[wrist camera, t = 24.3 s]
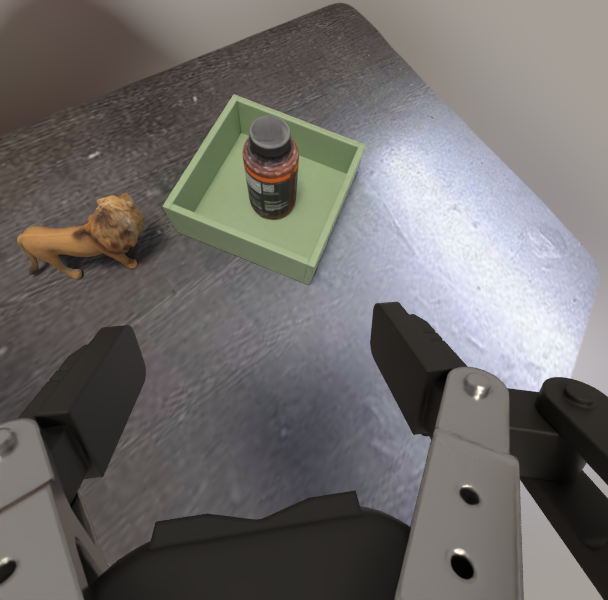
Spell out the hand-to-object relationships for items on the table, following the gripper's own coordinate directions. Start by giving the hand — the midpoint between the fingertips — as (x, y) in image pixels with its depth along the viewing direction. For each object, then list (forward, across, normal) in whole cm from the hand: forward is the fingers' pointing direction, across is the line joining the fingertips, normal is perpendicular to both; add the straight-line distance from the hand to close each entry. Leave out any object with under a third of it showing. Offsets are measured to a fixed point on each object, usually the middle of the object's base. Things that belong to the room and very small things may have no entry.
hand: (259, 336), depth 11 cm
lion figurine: (+30, +18, +7) cm, 36 cm away
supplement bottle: (+33, -2, +2) cm, 34 cm away
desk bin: (+34, -2, +2) cm, 34 cm away
